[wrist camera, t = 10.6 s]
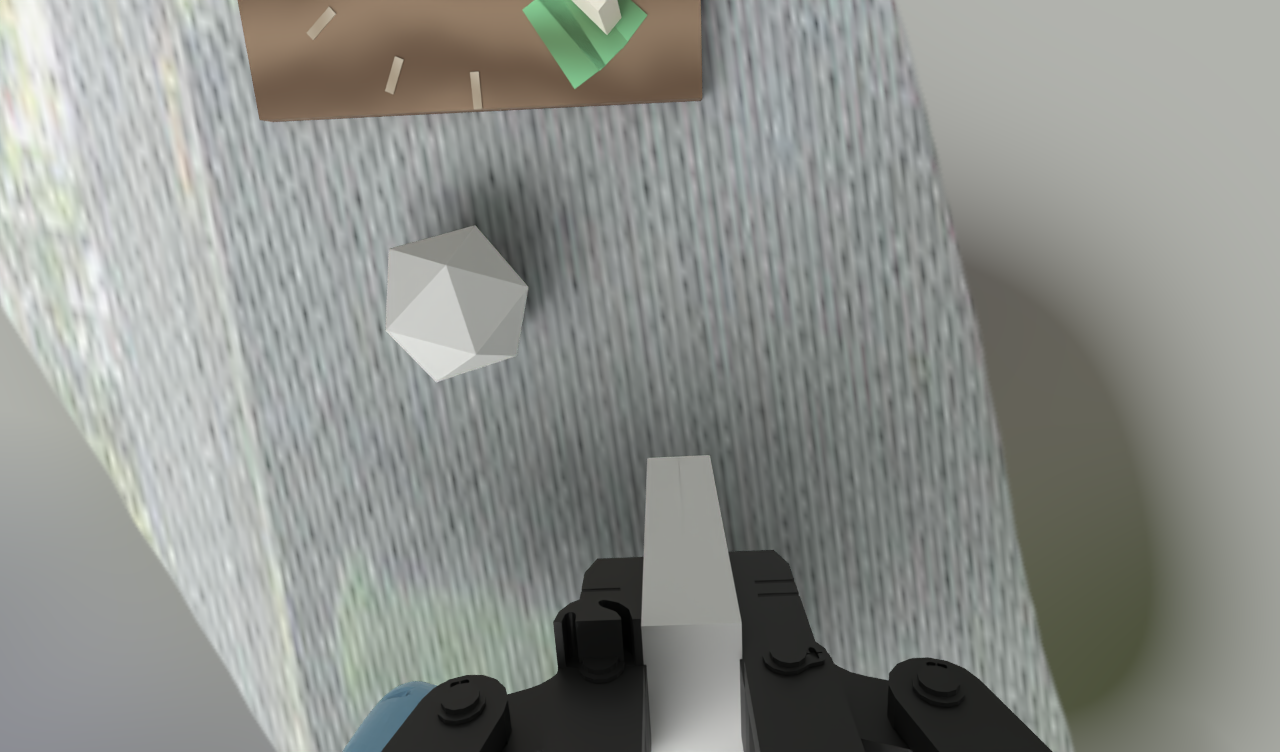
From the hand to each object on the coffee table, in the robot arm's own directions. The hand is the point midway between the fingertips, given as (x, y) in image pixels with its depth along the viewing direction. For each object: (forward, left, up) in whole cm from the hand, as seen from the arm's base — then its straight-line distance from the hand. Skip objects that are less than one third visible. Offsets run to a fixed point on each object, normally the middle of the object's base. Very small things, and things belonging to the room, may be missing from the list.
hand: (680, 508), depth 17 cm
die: (+1, +13, -29) cm, 32 cm away
